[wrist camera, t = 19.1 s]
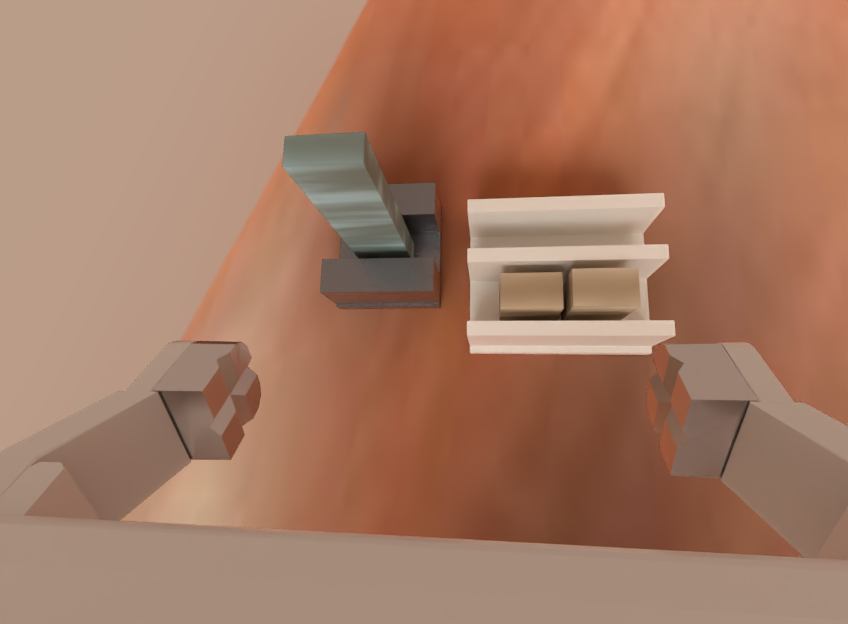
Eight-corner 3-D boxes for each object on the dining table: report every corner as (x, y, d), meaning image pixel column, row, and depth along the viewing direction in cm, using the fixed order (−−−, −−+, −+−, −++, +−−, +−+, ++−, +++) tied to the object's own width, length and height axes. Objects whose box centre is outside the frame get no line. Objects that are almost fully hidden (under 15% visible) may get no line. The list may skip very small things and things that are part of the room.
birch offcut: (554, 322, 46) (563, 308, 40) (499, 322, 47) (500, 308, 41) (553, 290, 47) (562, 272, 41) (499, 291, 47) (500, 273, 42)
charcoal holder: (439, 308, 49) (432, 293, 43) (339, 308, 50) (319, 294, 44) (441, 207, 51) (435, 180, 45) (345, 210, 52) (327, 184, 46)
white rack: (648, 354, 46) (676, 343, 39) (470, 353, 48) (466, 342, 41) (639, 218, 48) (663, 186, 41) (470, 223, 50) (467, 193, 43)
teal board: (413, 263, 49) (363, 162, 30) (363, 264, 50) (282, 166, 30) (414, 244, 50) (364, 131, 30) (364, 245, 50) (284, 136, 31)
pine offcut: (618, 322, 45) (640, 305, 39) (561, 322, 46) (573, 305, 39) (616, 289, 46) (638, 267, 39) (560, 290, 47) (572, 268, 40)
